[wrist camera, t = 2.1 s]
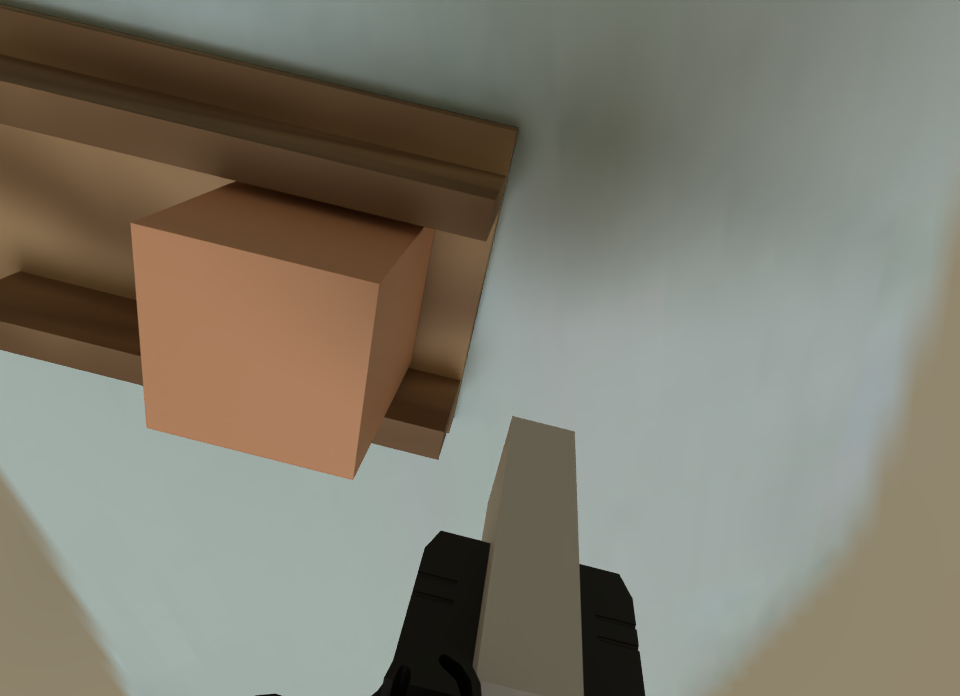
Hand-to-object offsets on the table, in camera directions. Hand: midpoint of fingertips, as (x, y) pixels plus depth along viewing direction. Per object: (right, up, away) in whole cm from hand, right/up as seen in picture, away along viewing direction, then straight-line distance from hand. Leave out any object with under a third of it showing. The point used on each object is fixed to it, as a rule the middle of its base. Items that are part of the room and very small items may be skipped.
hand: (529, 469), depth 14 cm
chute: (-14, +8, +8) cm, 18 cm away
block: (-6, +6, +7) cm, 11 cm away
